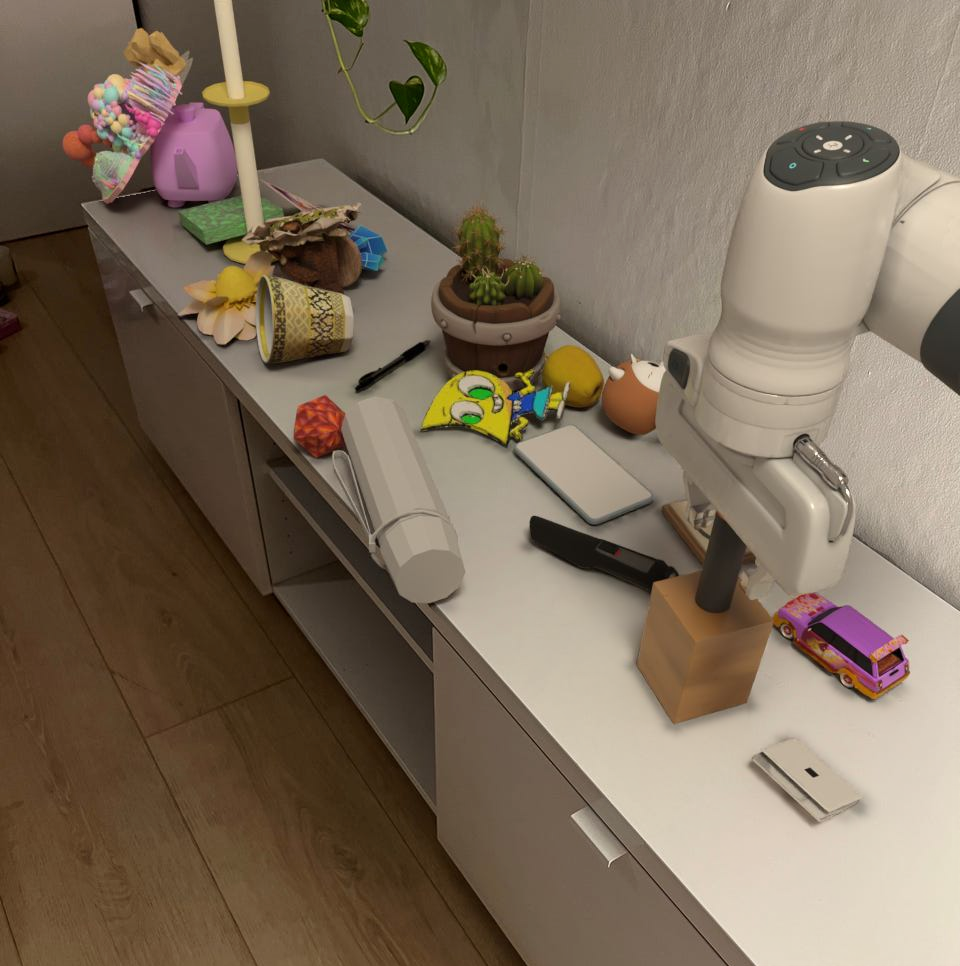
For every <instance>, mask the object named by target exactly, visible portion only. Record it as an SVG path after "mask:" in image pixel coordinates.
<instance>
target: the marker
mask: <svg viewBox="0 0 960 966" xmlns="http://www.w3.org/2000/svg"><path fill="white" fill-rule="evenodd" d="M746 549H747V546H746V545H745V543H744V542H743V541H742V540H741V539H740V537H739V536H738V535H737V534H736V533H735V531H734V530H733V529H732V528H731V527H730V525H729V524H728V523H727V522H726V521H725V519H724V518H723V517H722V516H721V515H720V513H719V512H718V511H717V510H716V514H715V519H714V523H713V527H712V531H711V535H710V539H709V543H708V547H707V551H706V555H705V559H704V563H703V565H702V567H701V570H700V571H701V576H700V580H699V584H698V588H697V592H696V596H695V601H696V603H697V605H698V606H699V607H700V608H701V609H703V610H705V611H707V612H711V613H721V612H724V611H726V610H727V609H729V607H730V605H731V602H732V598H733V594H734V591H735V587H736V584H737V580H738V577H740V573H741V569H742V566H743V565H742V563H743V559H744V556H745V552H746Z"/></svg>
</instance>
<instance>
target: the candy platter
mask: <svg viewBox="0 0 960 966" xmlns="http://www.w3.org/2000/svg"><path fill="white" fill-rule="evenodd" d="M127 44H128V45H127V46H126V48H125V49H124V50H123V52H122V53H123V55H124V56H125V58H126V60H127V62H129V64H130V65H132V66H133V68H134V67H135V71H136V72H132V71H130V73H131V74H132V75H131V74H129V76H130V77H131V78H126V77H125V78H124V77H123V76H121V75H120V74H118V73H113V74H110V75H108V77H107V78H106V80H105V81H104V83H96V84H94V86H93V89H92V90H90V91H89V93H88V95H87V104H88V106H89V108H90V109H89V115H90V117H91V120H92V126H91V125H90V124H82V125H80V126H79V127H78V129H77V130H71V131H69V132H67V133H66V134H65V135H64V136H63V139H62V143H61V144H62V149H63V151H64V153H65V154H66V155H67V156H68V157H69V158H70V159H71V160H73V161H77V162H80V163H81V165H83V166H84V167H86V168H92V176H91V179H92V182H93V184H94V186H95V187H96V188H97V189H98V190H99V191H100V193H101V199H102V202H104V203H105V204H106V205H109V203H111V204H112V203H113V202H114V201H115V199H117V197H118V196H119V195H120V194H121V193H122V191H123V190H125V187H126V186H127V184H128V183H129V181H130V179H131V178H132V176H133V174H134V172H135V170H136V169H137V167H138V165H139V163H140V160H142V157H144V155H145V154H146V153H147V152H148V150H149V149H150V148H151V144H152V143H153V142H154V140H155V138H156V137H157V136H158V133H159V131H160V129H161V127H162V125H164V122H165V120H166V118H167V117H168V114H169V113H171V114H172V115H173V114H174V113H172V112H171V111H170V110H171V109H173V107H176V106H177V104H176V101H177V98H178V96H179V94H180V95H183V92H181V90H182V87H183V84H184V83H185V80H186V79H187V76H188V75H189V72H190V69H191V67H192V65H193V61H194V57H190V56H189V55H190V50H189V49H188V50H186V51H185V52H184V53H183V54H182V55H180V52H179V51H178V50H177V49H175V48H174V46H173V45H172V44H171V43H170V41H169V40H168V39H167V37H166V36H165V34H164V33H163V32H162V31H160V32H159V31H158V30H156V31H154V32H152V33H151V34H150V35H149V33H148V32H147V31H146V30H144V28H142V27H140V28H137V29H136V30H135V32H134V34H133V36H132V38H131V40H130V41H127ZM189 57H190V58H189ZM137 67H138V68H137ZM102 143H103V145H104V146H105V147H107V148H112V150H113V151H111V150H102V151H99V152H96V151H95V149H93V146H92V144H95V145H98V144H99V145H100V144H102Z"/></svg>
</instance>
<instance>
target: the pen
mask: <svg viewBox="0 0 960 966" xmlns="http://www.w3.org/2000/svg"><path fill="white" fill-rule="evenodd" d="M430 343H431V340H430V339H425V340H423V341H420V342H418V343H416V344H415V345H413V346H412V347H410V348H409V349H406V350H405V351H403V352H402V353H401V354H400V355H399V356H398V357H395V358H394V359H393V360H392V361H390V362H389V363H387V364H385V365H383V366H382V367H378V368H377V369H376V370H373V371H370V372H368V373H365V374H364V375H362V376H361V377H360V378H359V379H358V382H357V383H358V384H357V385H356V386H355V387H354V391H355V392H359V391H362V390H365V389H367V388H368V387H370V386H372V385H373V384H374V383H376V382H377V381H379V380H380V379H382V378H383V377H384V376H387V375H388V374H389V373H391V372H392V371H393V370H395V369H397V368H399V366H401V365H402V364H405V363H407V362H408V361H410V360H412V359H413V358H415V357H416V356H417V355H419V354H420V353H421V352H423V351H425V350H426V348H427V347H429V345H430Z"/></svg>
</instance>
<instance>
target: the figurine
mask: <svg viewBox="0 0 960 966" xmlns="http://www.w3.org/2000/svg"><path fill="white" fill-rule="evenodd" d="M630 357H631V360H627V361H624V362H622V363H620V364H619V365H618V366H610V367H609V368H608V374H609V376H608V377H607V379H606V381H605V382H604V386H603V389H602V393H601V405H602V409H603V411H604V413H605V414H606V416H607V418H609V419H610V421H612V423H614V424H615V425H616V426H618V427H619V428H620V429H622V430H624V431H626V432H628V433H630V434H633V435H638V436H644V435H647V434H649V433H651V432H653V431H654V430H656V424H655V417H656V409H657V402H658V395H659V390H660V385H661V380H662V377H663V374H664V372H665V371H666V369H665V367H664V365H663V360H662V361H660V362H659V363H657V362H654V361H650V360H641V359H640V358H636V357H635V356H634V355H633V353H631V354H630Z"/></svg>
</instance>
